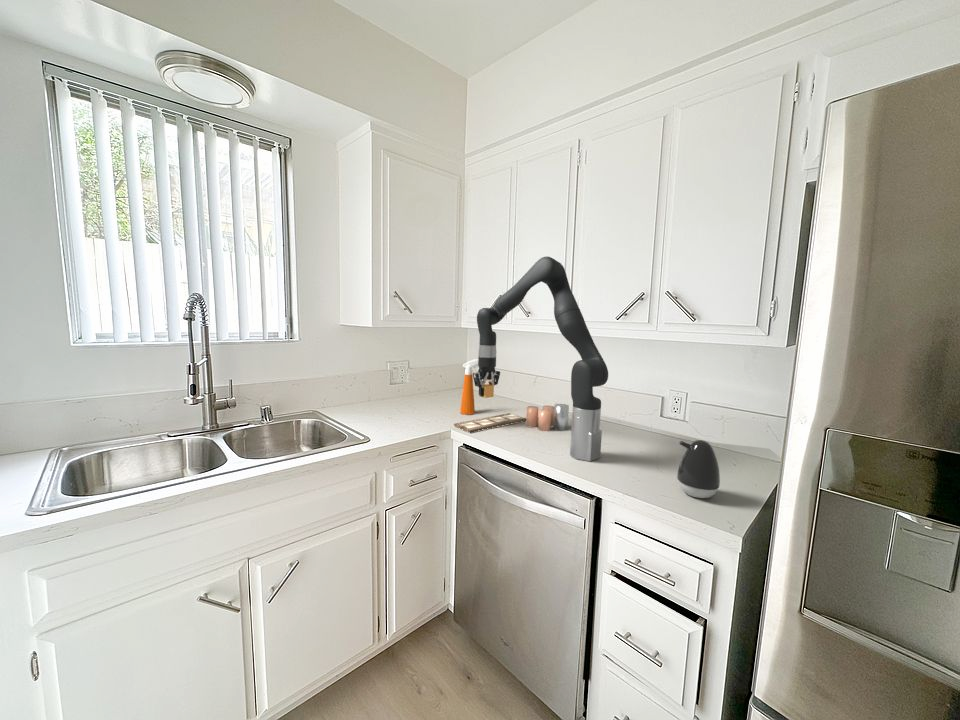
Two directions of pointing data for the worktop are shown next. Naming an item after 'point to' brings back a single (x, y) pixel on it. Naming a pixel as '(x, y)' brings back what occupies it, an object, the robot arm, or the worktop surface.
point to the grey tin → (561, 416)
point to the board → (489, 422)
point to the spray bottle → (468, 388)
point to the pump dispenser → (699, 470)
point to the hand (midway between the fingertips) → (486, 395)
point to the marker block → (488, 390)
